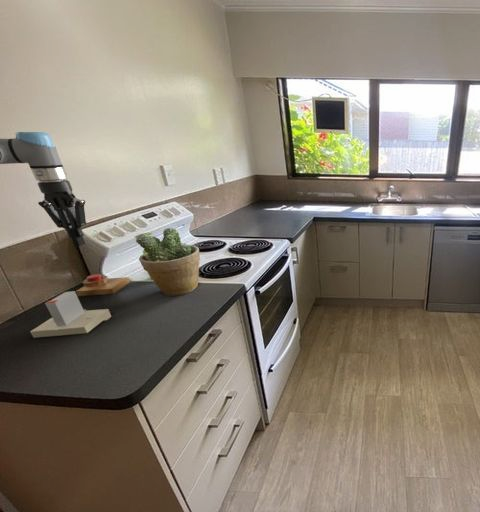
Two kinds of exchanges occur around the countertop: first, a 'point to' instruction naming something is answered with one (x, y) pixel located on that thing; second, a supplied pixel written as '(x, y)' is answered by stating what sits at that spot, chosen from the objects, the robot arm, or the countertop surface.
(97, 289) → the button block
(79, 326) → the plate
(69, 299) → the white rectangular box
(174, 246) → the potted plant
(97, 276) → the button
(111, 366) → the countertop surface
